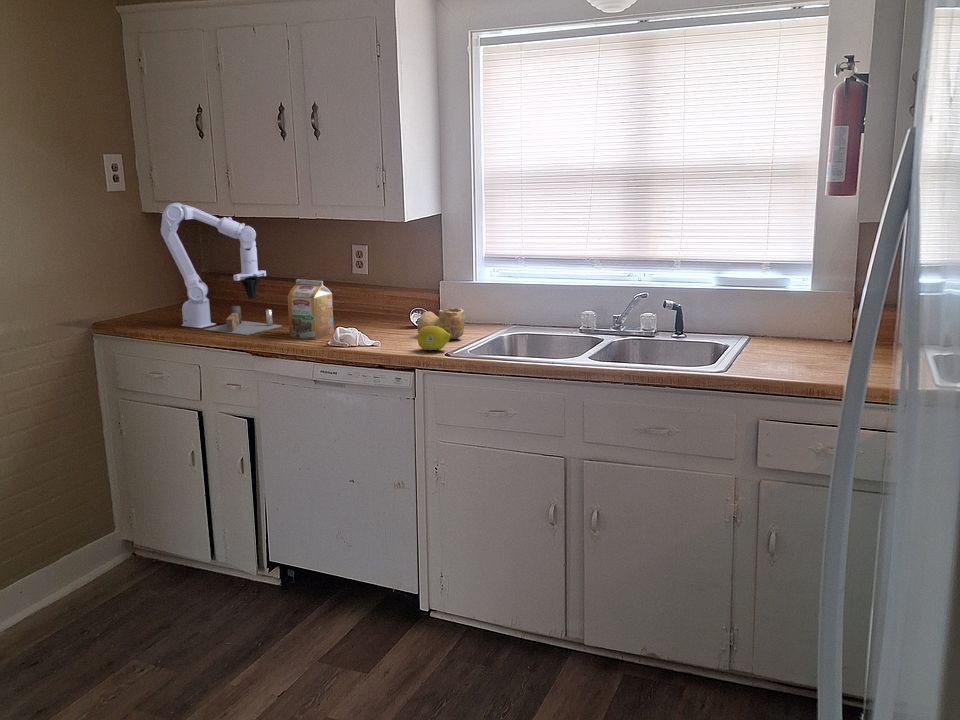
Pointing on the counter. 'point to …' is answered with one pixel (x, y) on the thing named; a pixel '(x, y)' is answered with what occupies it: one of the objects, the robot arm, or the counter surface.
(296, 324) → the milk carton
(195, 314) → the robot arm
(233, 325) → the bar
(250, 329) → the mat
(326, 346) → the counter surface
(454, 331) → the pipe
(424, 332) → the lemon
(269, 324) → the hitch post
